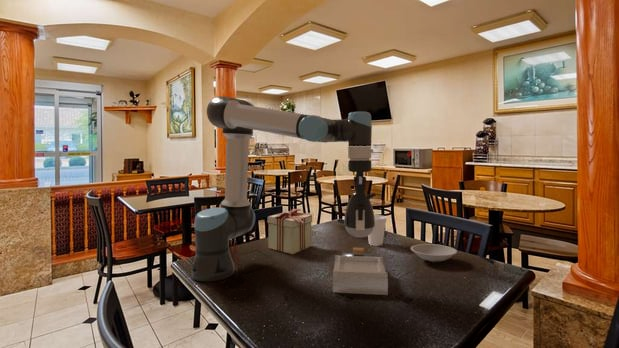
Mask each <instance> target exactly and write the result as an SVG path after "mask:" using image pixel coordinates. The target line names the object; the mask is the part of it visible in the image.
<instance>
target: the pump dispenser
mask: <svg viewBox="0 0 619 348" xmlns="http://www.w3.org/2000/svg"><path fill="white" fill-rule="evenodd" d="M376 196H377V194H376V193H374V192H373V193H370V194H367V193H366V192H365V209H364V210H365V230H356V210H354V208H356V190H354V192H353V193H352V194H351V196H350V198H349V200H348V203H347V204H346V205H347V206H346V208H345V213H344V219H343V220H344V222H343V223H344V226H345V230H346V232H347V233H348V234H349V235H350V236H351V237H355V238H366V237H368V235H370V234H371V233H372V231H373V228H374V226H375V218H374V215H375V213H374V211H375V210H374V208H373V204H372V202H371V199H372V198H374V197H376Z"/></svg>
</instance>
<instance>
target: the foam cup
mask: <svg viewBox="0 0 619 348" xmlns="http://www.w3.org/2000/svg"><path fill="white" fill-rule="evenodd" d="M374 218H375V226H374V228H373V231H372V233H371V234H370V235H368V236H367V239H368V244H370V245H369V246H372V245H373V247H380V246H379V245H381V246H383V243H384V237H385V231H386V228H385V227H386V223H387V217H386V216H385V215H380V214H379V215H378V214H374Z"/></svg>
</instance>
